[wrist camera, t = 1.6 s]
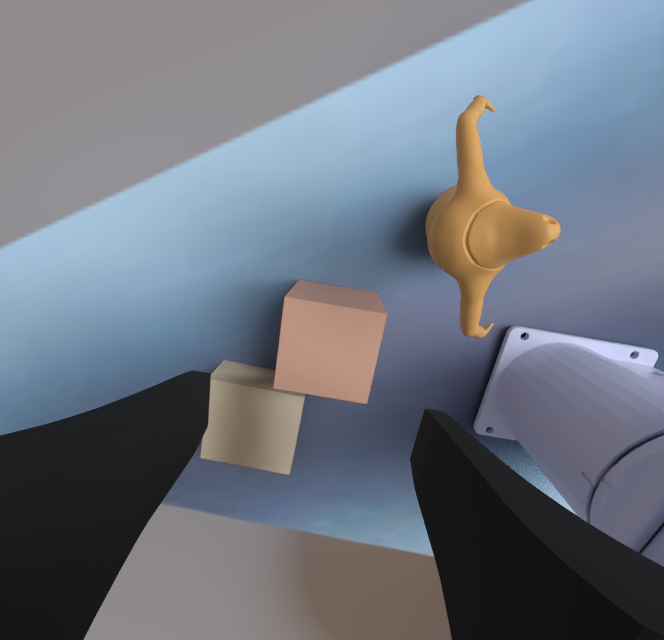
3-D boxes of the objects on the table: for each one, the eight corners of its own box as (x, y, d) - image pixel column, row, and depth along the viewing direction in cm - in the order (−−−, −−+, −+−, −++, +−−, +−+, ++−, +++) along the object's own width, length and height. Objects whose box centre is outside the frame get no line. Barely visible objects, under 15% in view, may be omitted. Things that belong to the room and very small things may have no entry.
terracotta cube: (377, 292, 20) (387, 314, 15) (362, 363, 21) (366, 403, 16) (299, 279, 20) (284, 296, 15) (289, 351, 21) (273, 388, 16)
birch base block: (309, 374, 22) (304, 397, 19) (296, 444, 24) (289, 474, 21) (225, 358, 22) (207, 378, 19) (218, 429, 23) (200, 458, 21)
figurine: (487, 288, 19) (697, 382, 8) (389, 300, 20) (450, 406, 8) (487, 139, 17) (790, -44, 5) (376, 157, 17) (437, 24, 6)
